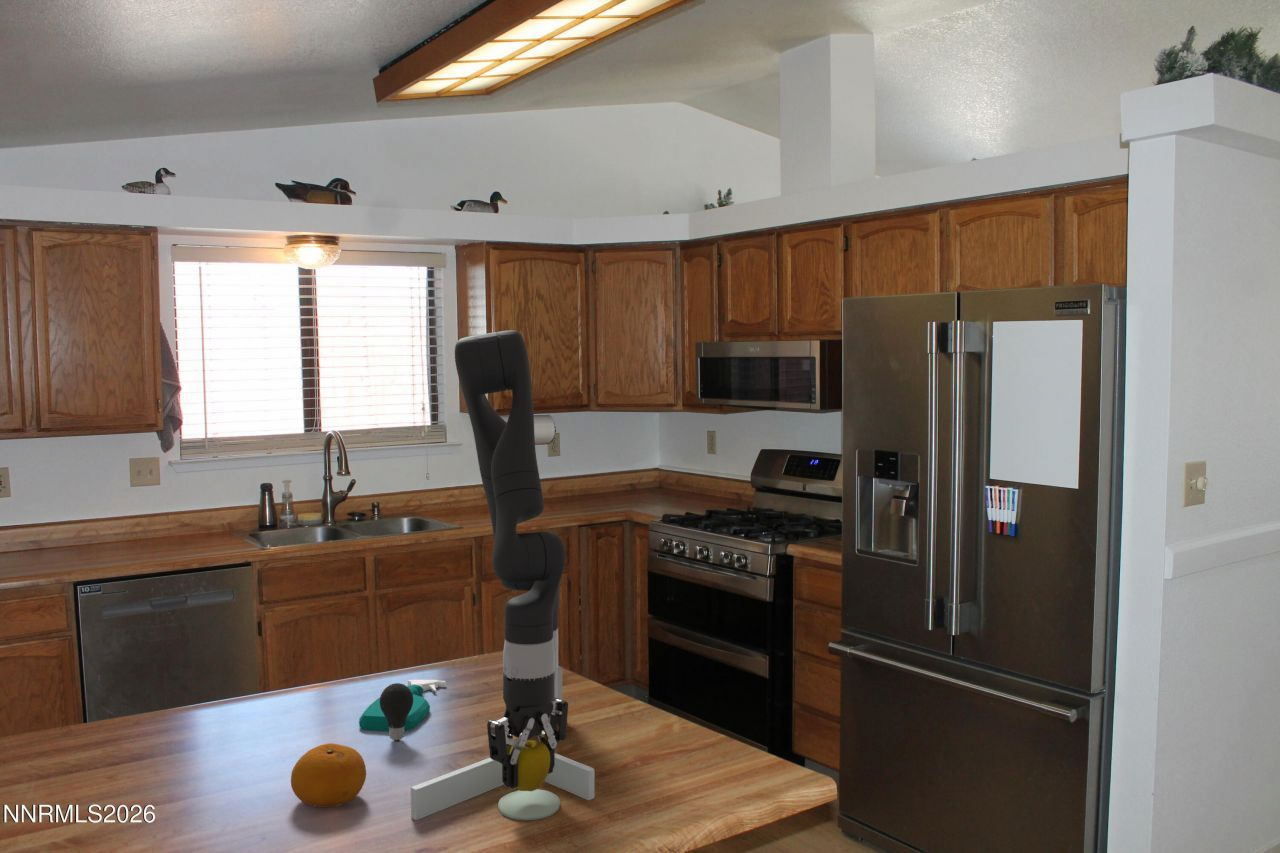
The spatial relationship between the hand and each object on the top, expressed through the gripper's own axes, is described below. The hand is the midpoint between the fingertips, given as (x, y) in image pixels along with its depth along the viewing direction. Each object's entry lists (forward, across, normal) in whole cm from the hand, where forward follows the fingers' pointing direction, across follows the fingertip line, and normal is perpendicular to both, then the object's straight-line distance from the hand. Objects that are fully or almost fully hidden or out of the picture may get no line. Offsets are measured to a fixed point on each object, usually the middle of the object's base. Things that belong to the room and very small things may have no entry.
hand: (528, 778), depth 150 cm
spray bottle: (+5, -12, -48) cm, 49 cm away
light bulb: (+4, -1, -35) cm, 35 cm away
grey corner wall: (+4, +3, -2) cm, 5 cm away
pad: (+4, 0, 0) cm, 4 cm away
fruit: (+4, +19, -23) cm, 30 cm away
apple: (+2, 0, 0) cm, 2 cm away
